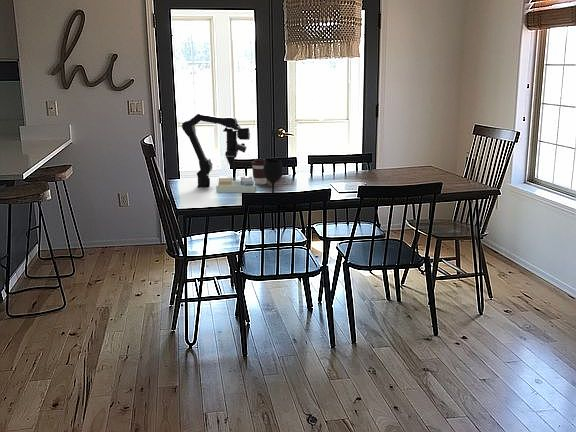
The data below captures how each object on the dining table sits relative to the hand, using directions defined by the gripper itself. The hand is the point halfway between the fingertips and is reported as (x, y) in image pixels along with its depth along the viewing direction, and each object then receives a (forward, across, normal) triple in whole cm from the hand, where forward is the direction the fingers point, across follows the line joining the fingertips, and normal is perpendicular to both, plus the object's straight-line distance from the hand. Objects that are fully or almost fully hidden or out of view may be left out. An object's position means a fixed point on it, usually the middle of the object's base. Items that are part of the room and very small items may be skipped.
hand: (232, 166), depth 358 cm
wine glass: (+12, -31, -24) cm, 41 cm away
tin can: (+11, -11, -9) cm, 18 cm away
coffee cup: (+12, +8, -16) cm, 22 cm away
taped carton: (+11, -11, +3) cm, 16 cm away
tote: (+12, -11, -3) cm, 16 cm away
